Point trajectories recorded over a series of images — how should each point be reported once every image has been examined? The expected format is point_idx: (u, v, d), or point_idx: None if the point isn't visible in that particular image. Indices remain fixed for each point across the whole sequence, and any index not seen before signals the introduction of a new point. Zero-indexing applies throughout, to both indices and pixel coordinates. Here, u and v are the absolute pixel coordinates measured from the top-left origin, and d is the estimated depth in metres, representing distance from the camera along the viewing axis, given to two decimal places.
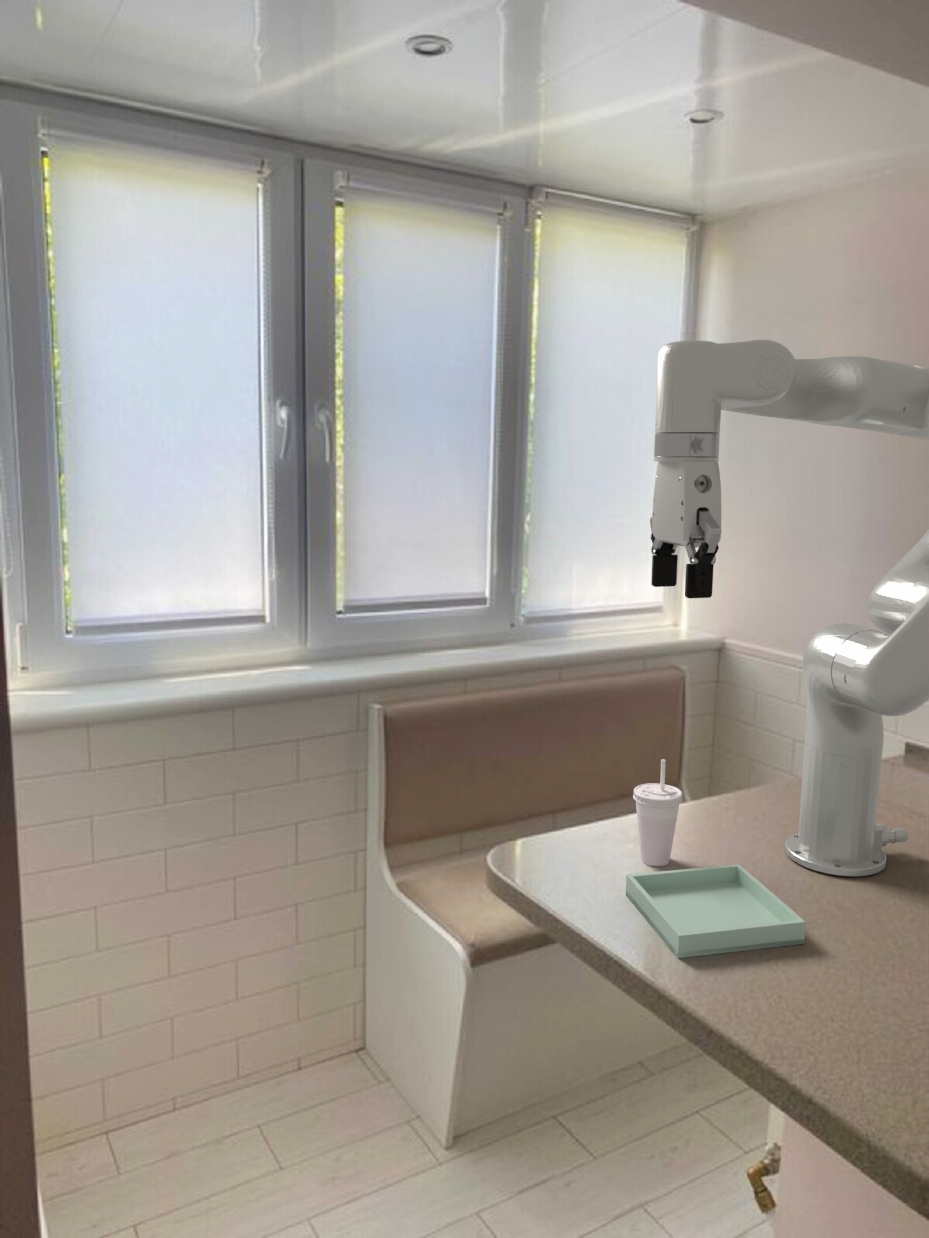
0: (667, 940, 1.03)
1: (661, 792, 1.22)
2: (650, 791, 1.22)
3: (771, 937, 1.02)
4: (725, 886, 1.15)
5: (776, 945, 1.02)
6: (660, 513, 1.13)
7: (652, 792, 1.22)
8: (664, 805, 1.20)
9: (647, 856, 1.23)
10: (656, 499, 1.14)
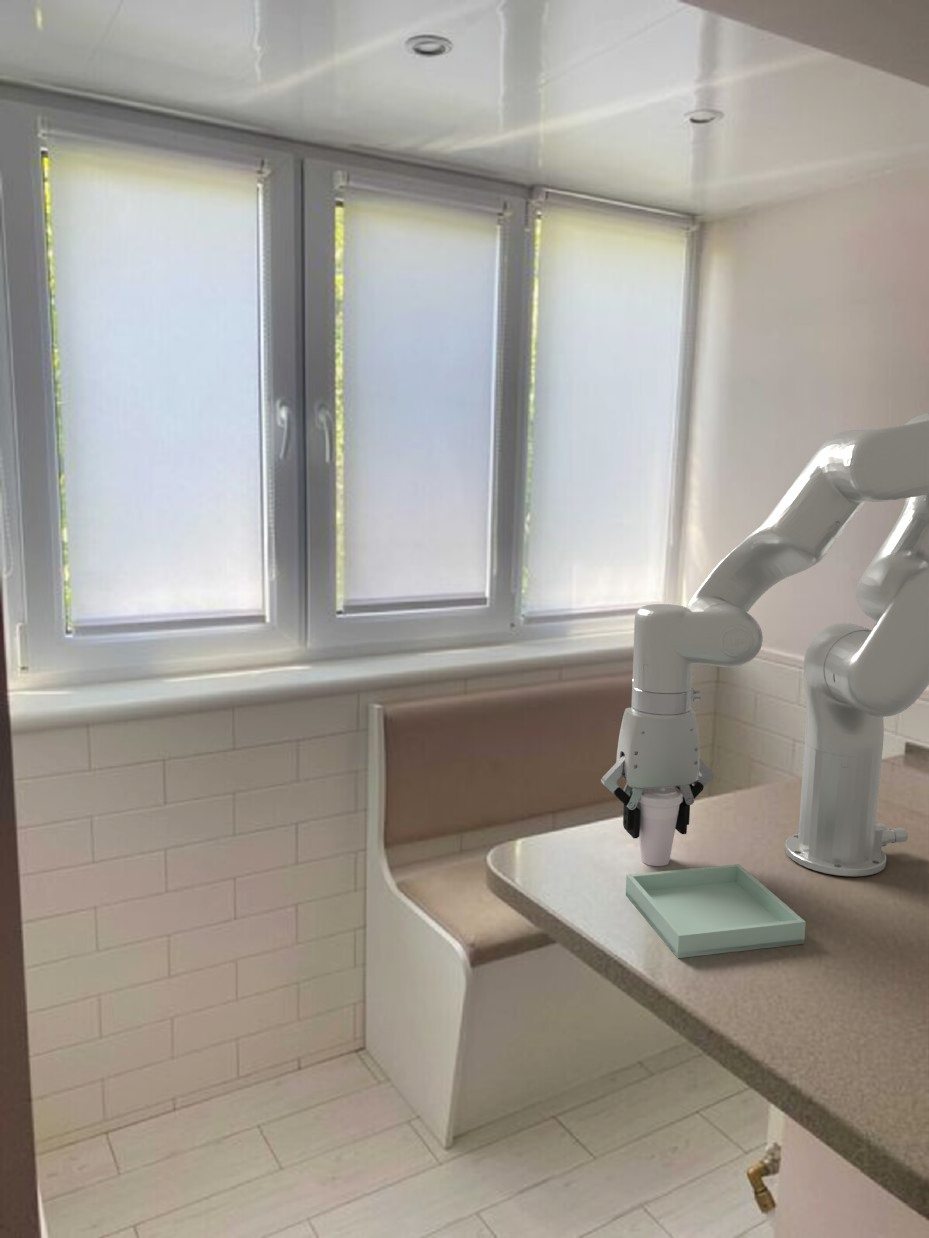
0: (667, 940, 1.03)
1: (661, 792, 1.22)
2: (650, 791, 1.22)
3: (771, 937, 1.02)
4: (725, 886, 1.15)
5: (776, 945, 1.02)
6: (655, 763, 1.19)
7: (652, 792, 1.22)
8: (665, 805, 1.20)
9: (647, 856, 1.23)
10: (645, 752, 1.19)
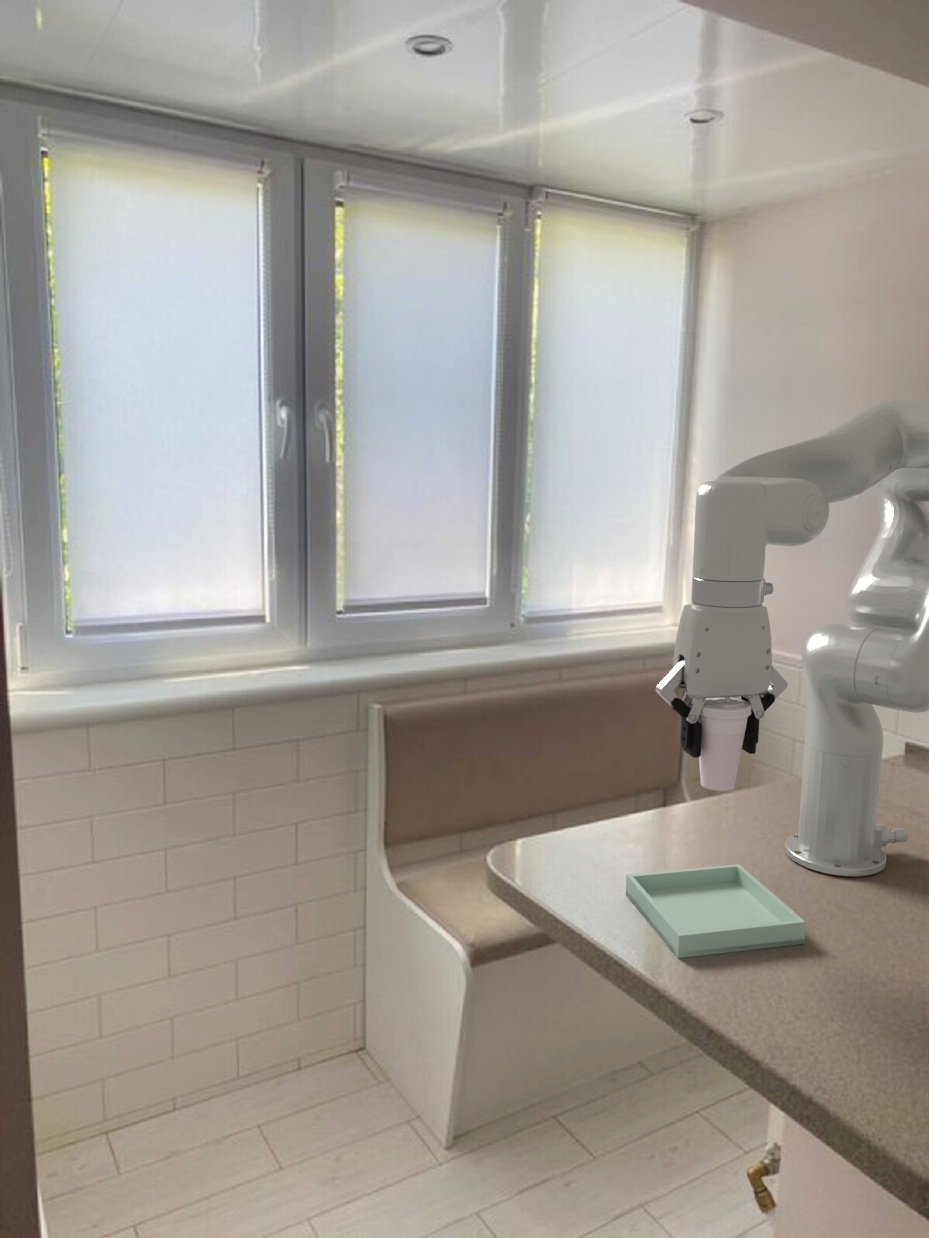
0: (667, 940, 1.03)
1: (727, 703, 1.03)
2: (713, 702, 1.04)
3: (771, 937, 1.02)
4: (725, 886, 1.15)
5: (776, 945, 1.02)
6: (720, 667, 1.01)
7: (716, 703, 1.04)
8: (732, 717, 1.01)
9: (709, 780, 1.04)
10: (709, 653, 1.00)
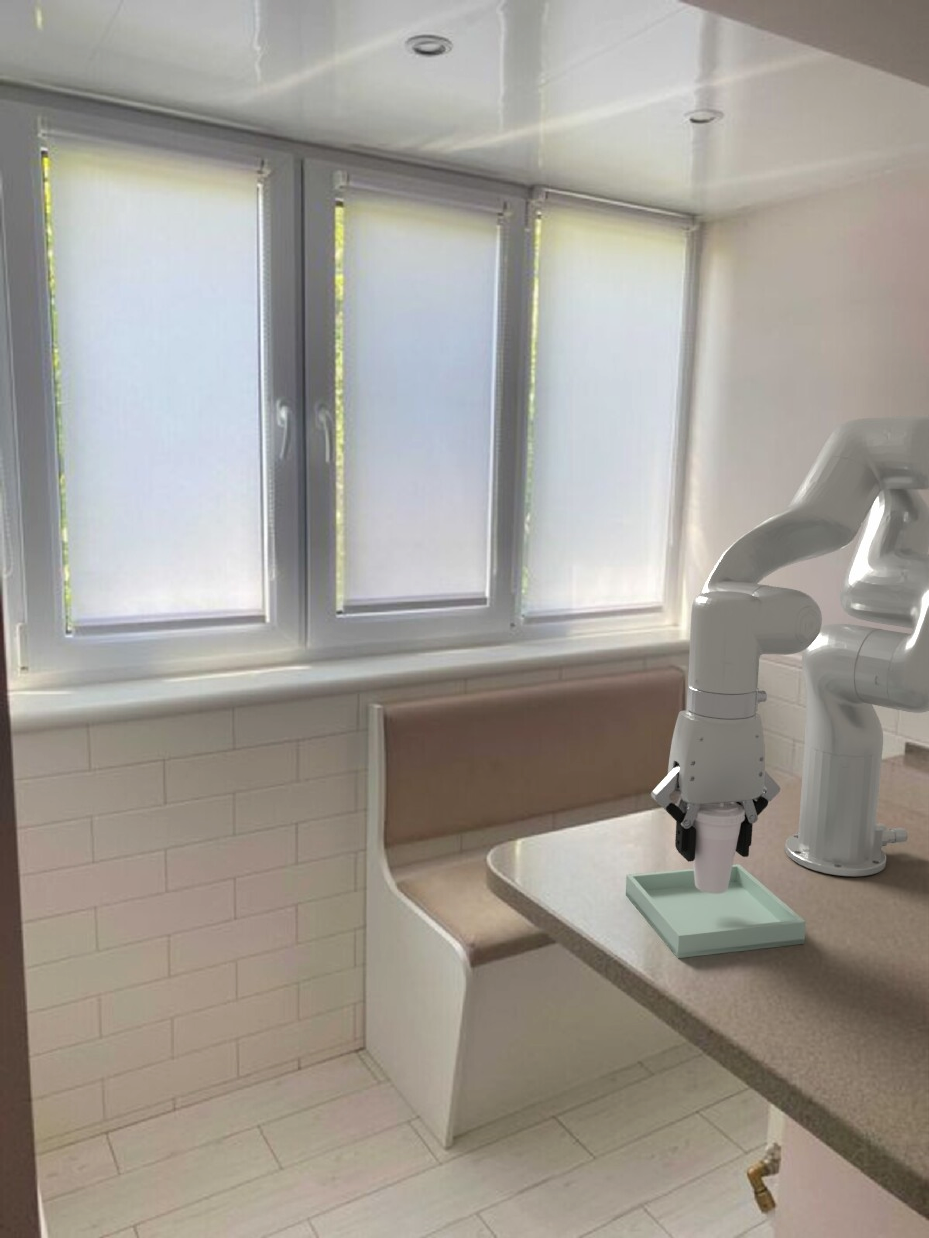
0: (667, 940, 1.03)
1: (720, 808, 1.05)
2: (707, 807, 1.06)
3: (771, 937, 1.02)
4: None
5: (776, 945, 1.02)
6: (714, 775, 1.03)
7: (710, 808, 1.06)
8: (725, 824, 1.04)
9: (703, 882, 1.06)
10: (703, 762, 1.02)
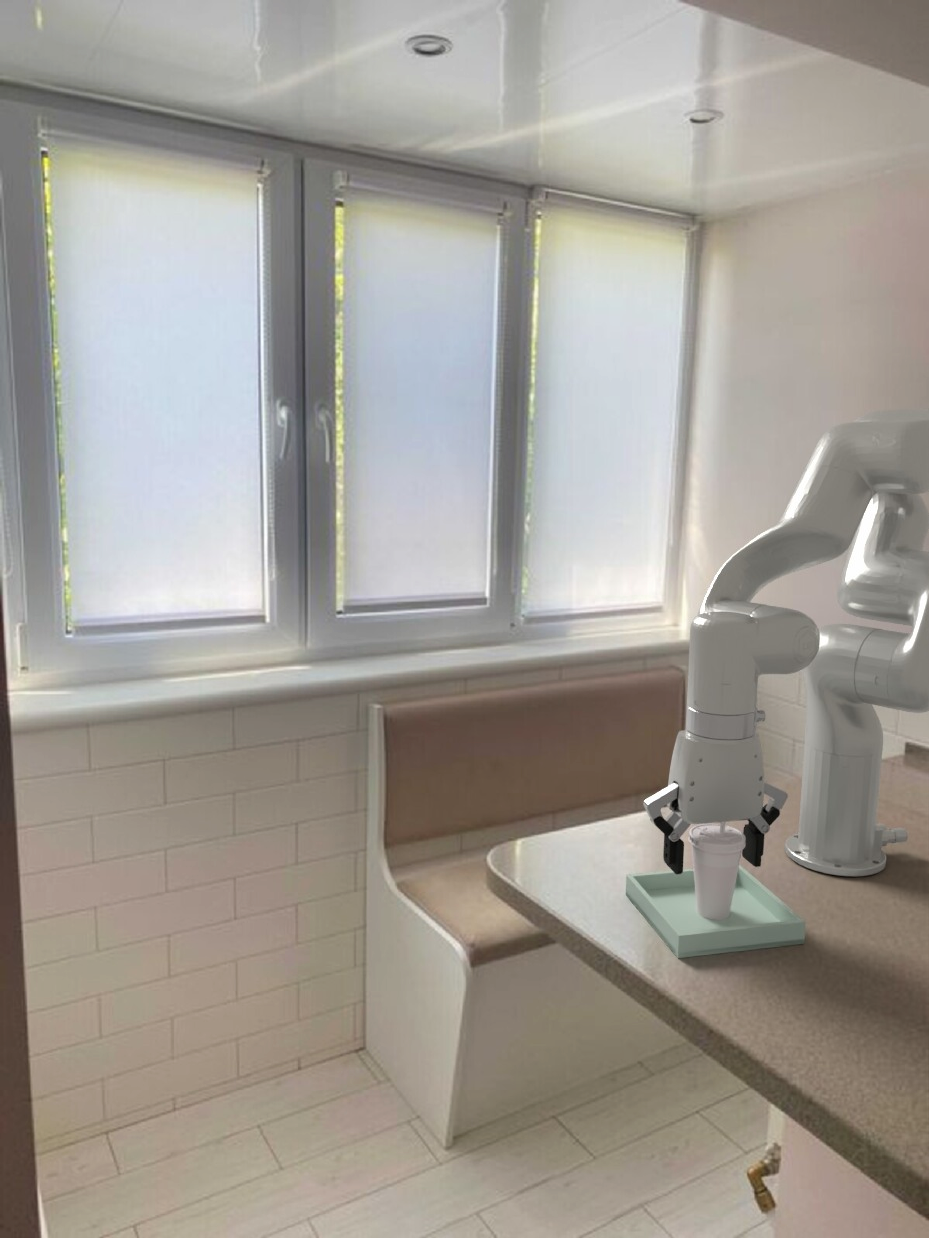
0: (667, 940, 1.03)
1: (721, 835, 1.06)
2: (709, 834, 1.07)
3: (771, 937, 1.02)
4: None
5: (776, 945, 1.02)
6: (714, 795, 1.03)
7: (711, 835, 1.07)
8: (727, 852, 1.04)
9: (705, 909, 1.07)
10: (703, 782, 1.03)
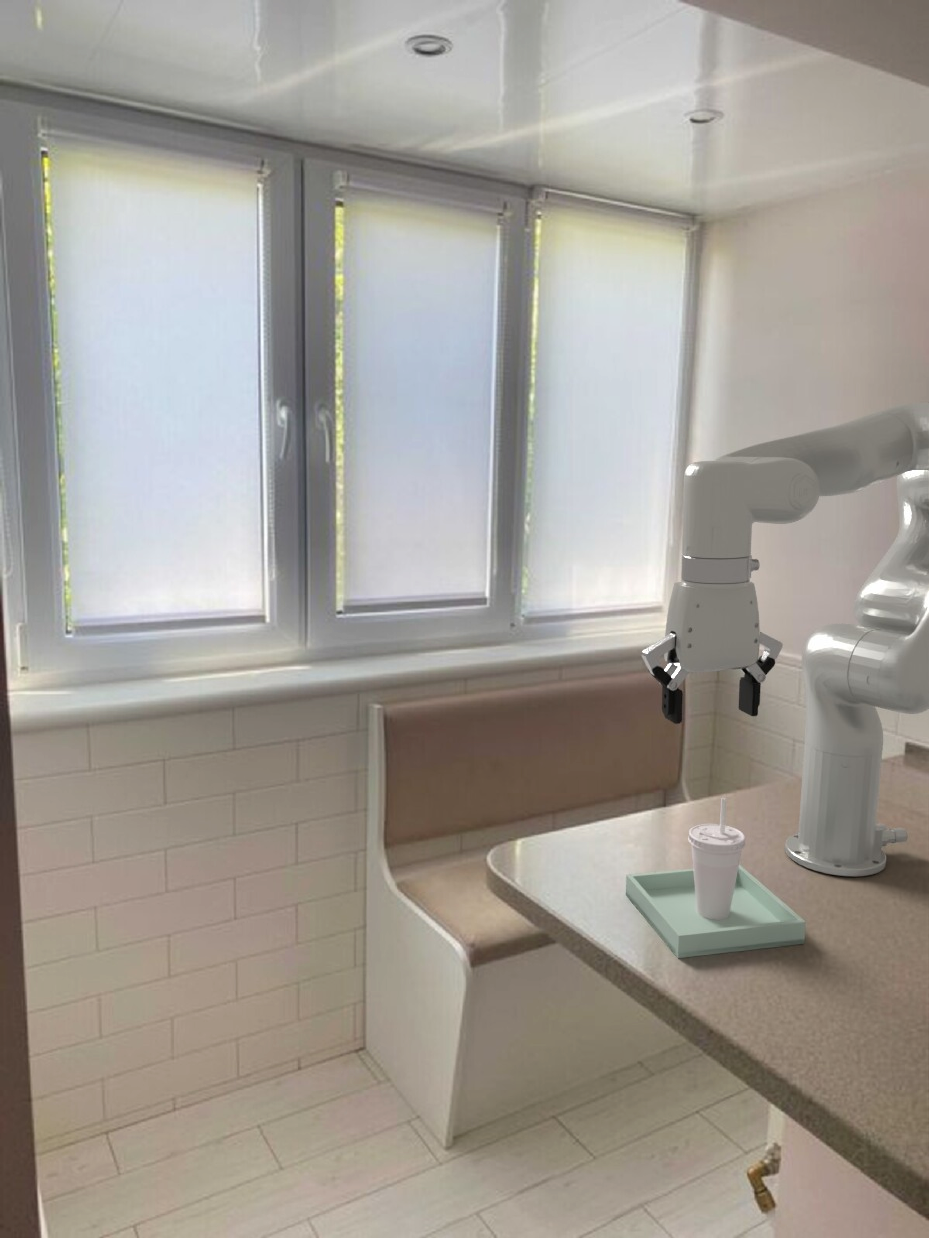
0: (667, 940, 1.03)
1: (721, 835, 1.06)
2: (708, 834, 1.07)
3: (771, 937, 1.02)
4: None
5: (776, 945, 1.02)
6: (711, 642, 1.04)
7: (711, 835, 1.07)
8: (726, 851, 1.04)
9: (705, 909, 1.07)
10: (700, 628, 1.04)
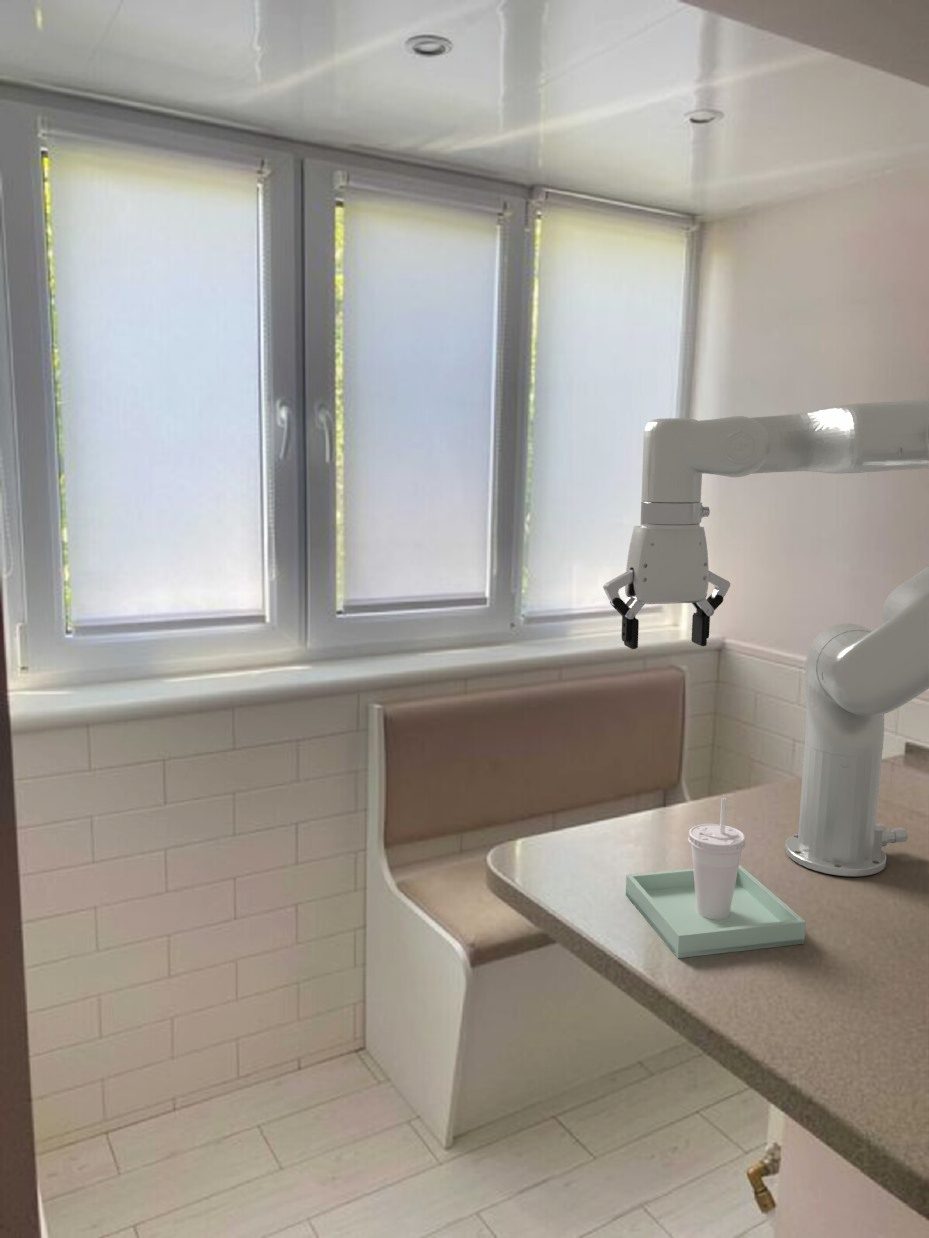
0: (667, 940, 1.03)
1: (721, 835, 1.06)
2: (708, 834, 1.07)
3: (771, 937, 1.02)
4: None
5: (776, 945, 1.02)
6: (664, 577, 1.19)
7: (711, 835, 1.07)
8: (726, 851, 1.04)
9: (705, 909, 1.07)
10: (654, 564, 1.19)
